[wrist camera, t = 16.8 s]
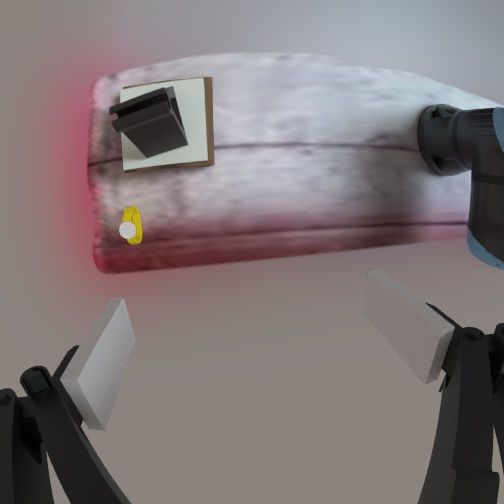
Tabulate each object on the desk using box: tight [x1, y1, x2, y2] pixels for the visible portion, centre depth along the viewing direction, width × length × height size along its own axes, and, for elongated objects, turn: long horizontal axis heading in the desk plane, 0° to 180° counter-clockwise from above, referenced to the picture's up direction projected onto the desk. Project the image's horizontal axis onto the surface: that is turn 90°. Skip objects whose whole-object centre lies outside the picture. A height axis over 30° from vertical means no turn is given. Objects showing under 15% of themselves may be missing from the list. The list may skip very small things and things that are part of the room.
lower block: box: [123, 77, 215, 173], centre depth 42 cm, size 14×14×4 cm
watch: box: [119, 206, 142, 245], centre depth 44 cm, size 6×3×6 cm, turn 6°
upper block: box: [120, 78, 208, 170], centre depth 38 cm, size 12×12×4 cm
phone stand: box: [109, 86, 188, 158], centre depth 30 cm, size 9×6×12 cm, turn 14°
